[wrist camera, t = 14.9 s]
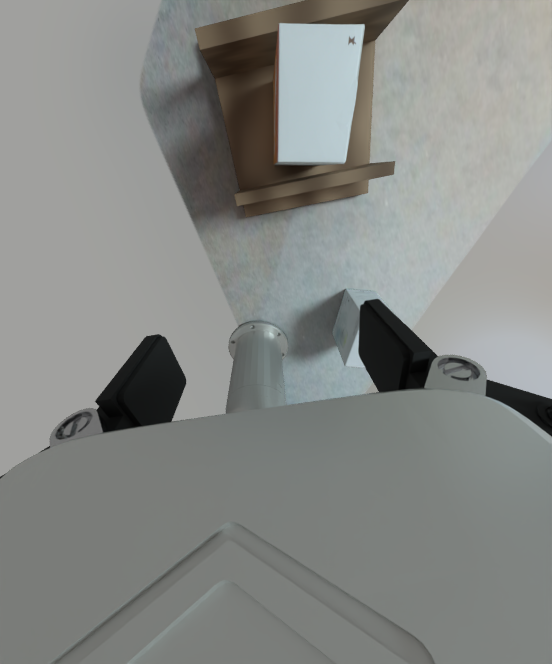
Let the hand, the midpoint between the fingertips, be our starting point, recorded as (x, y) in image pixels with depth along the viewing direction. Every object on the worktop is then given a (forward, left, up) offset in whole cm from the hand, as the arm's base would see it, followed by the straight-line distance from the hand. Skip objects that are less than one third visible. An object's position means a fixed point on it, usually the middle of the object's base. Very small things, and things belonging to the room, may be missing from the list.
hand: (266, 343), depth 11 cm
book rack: (+11, -7, -31) cm, 33 cm away
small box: (+11, -6, -30) cm, 32 cm away
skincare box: (-19, -14, -31) cm, 39 cm away
